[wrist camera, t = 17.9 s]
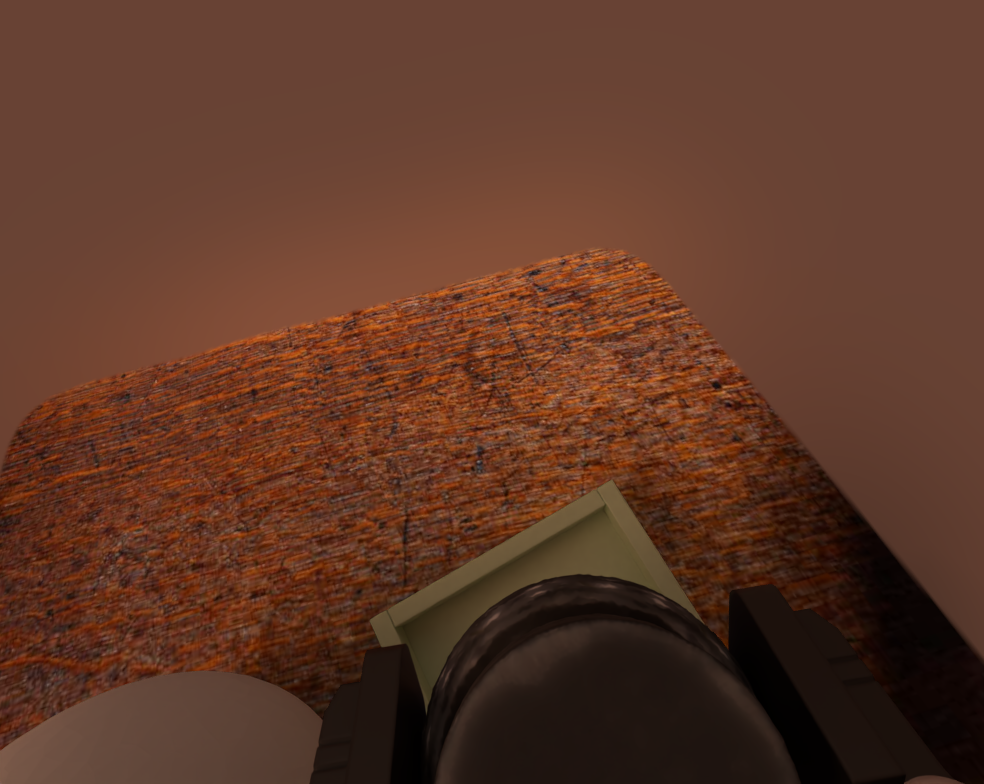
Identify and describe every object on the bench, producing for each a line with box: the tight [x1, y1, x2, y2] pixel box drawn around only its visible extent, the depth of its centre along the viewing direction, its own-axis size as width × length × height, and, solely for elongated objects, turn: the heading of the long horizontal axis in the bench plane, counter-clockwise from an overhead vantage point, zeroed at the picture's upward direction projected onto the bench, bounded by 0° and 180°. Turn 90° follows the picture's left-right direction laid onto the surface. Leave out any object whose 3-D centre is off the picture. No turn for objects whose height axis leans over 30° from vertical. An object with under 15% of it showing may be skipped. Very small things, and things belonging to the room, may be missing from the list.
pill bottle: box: [419, 574, 801, 784], centre depth 12 cm, size 6×6×11 cm
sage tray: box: [370, 480, 705, 715], centre depth 24 cm, size 12×11×2 cm
